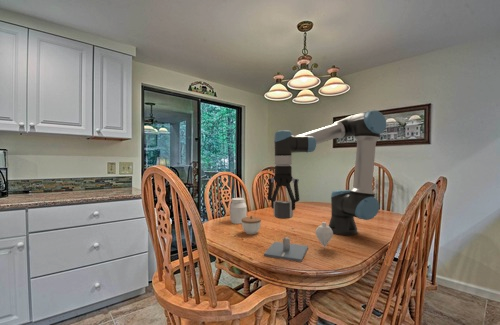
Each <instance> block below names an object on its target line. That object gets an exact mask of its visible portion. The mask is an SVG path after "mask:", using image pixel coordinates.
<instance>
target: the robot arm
mask: <svg viewBox="0 0 500 325" xmlns="http://www.w3.org/2000/svg"><path fill="white" fill-rule="evenodd" d="M386 129H387V119H386V117H385V115H384V114H383V113H382V112H380V111H379V110H375V109H374V110H366V111H363V112H360V113H357V114H352V115H349V116H347V117H345V118H342V119H340V120H337V121H334V123H333V124H331V125H326V126H325V127H324V126H323V127H321V128H318V129H313V130H311V131H308V132H304V133H301V134H297V135H293V134H292V131H291V130H278V131H277V130H276V131H275V133H274V176H273V177H269V178H268V179H267V182H268V190H267V200H268V201H271V209H273V217H275V204H276V201H277V196H278V193H279V191H280V188H281V187H285V188H286V190H287V193H288V196H289V199H290V202H291V203H290V218H289V219H292V218H293V217H294V211H296V203H298V202H299V201H300V193H299V185H298V184H299V181H300V180H299V179H298V178H294V177H293V175H292V172H293V170H292V169H293V168H292V166H291V165H292V164H293V163H292V160H293V159H292V154H296V153H312V152H315V150H316V148H317V145H319V144H322V143H325V142H328V141H331V140H335V139H343V138H349V137H354V139H355V140H356V152H355V162H354V163H355V164H354V174H353V185H352V186H353V187H352V188H351V189H343V190H341V189H339V190H333V191H332V192H331V196H330V201H331V202H330V203H331V210H330V212H331V217H330V220H329V223H328V226H329V227H330V228H331V229H332V231H333V234H335V235H341V236H353V235H356V234H358V227H357V224H356V221H355V219H354V218H357V219H358V220H365V221H369V220H372V219H374V218H375V217H376V216H377V215H378V213H379V210H380V202H379V200H378V198H376V193H375V192H374V190H373V181H374V179H373V178H374V169H375V168H374V167H375V157H376V144H377V141H379V140H380V139H381V134H383V133H384V132H385V130H386ZM274 182H275V183H276V184H275V188H274ZM291 182H292V183H293V189H292V188H291ZM273 188H274V190H273ZM293 190H294V193H293Z"/></svg>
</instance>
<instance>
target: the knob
mask: <svg viewBox="0 0 500 325" xmlns="http://www.w3.org/2000/svg"><path fill="white" fill-rule="evenodd" d="M275 201H276V204H275V216H274V218H277V219H279V220H289V219H291V218H290V203H291V201H285V200H275Z"/></svg>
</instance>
